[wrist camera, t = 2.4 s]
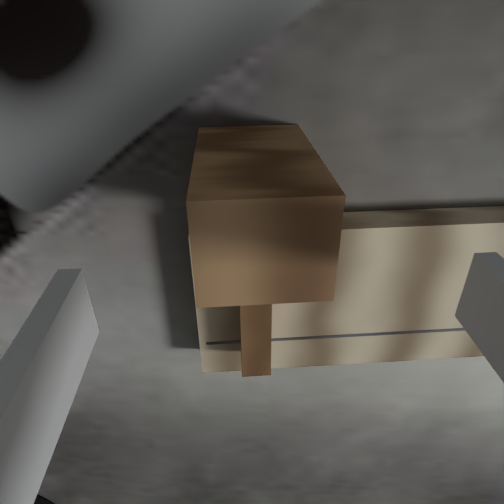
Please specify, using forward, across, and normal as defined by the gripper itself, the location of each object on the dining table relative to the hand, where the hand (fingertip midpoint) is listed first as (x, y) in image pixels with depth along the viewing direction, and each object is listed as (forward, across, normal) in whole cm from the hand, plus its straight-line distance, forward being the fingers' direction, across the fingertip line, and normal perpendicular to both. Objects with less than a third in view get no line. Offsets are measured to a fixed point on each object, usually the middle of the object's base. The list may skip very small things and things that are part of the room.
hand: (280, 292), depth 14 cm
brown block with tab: (+14, 0, -6) cm, 15 cm away
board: (+14, +11, -10) cm, 20 cm away
